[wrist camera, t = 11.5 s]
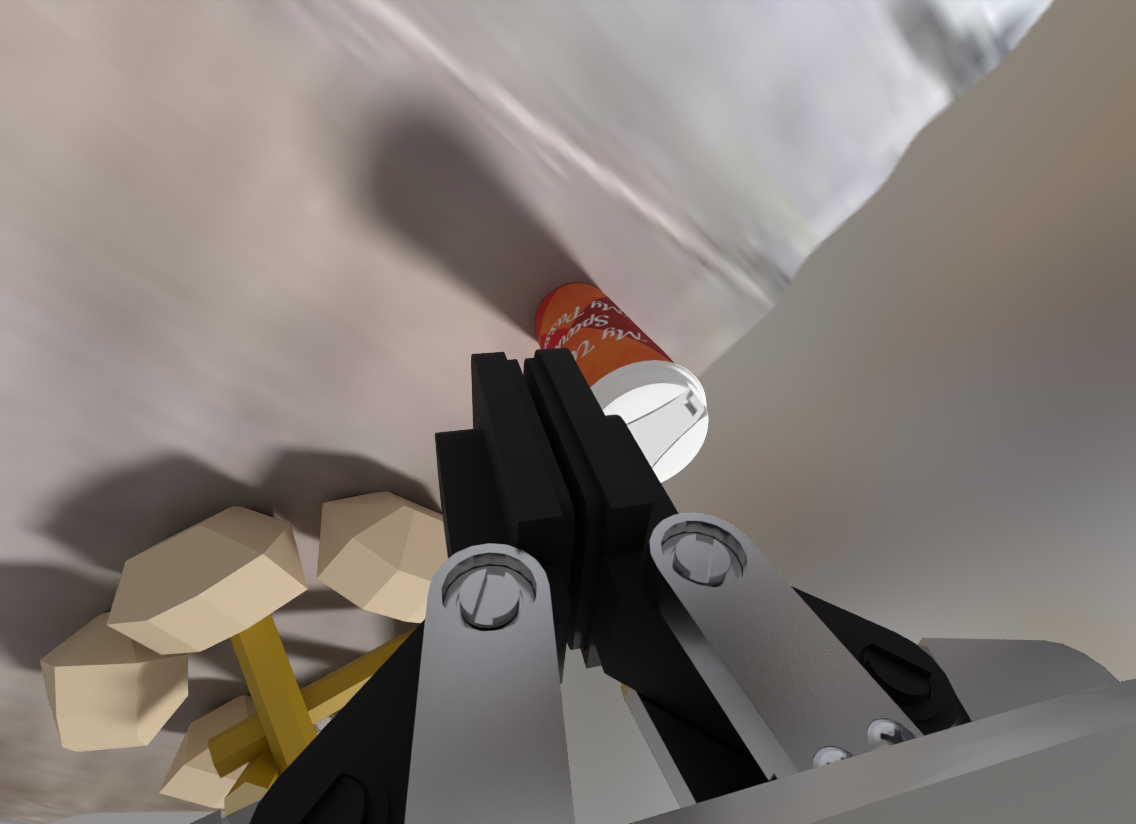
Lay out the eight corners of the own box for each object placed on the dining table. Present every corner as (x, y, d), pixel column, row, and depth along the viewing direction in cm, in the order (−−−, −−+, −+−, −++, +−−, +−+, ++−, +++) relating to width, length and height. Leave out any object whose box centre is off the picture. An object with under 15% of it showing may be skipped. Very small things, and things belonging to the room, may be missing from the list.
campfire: (-43, 612, 40) (-255, 914, 27) (383, 400, 40) (385, 601, 26) (285, 766, 62) (259, 976, 48) (564, 631, 61) (616, 806, 48)
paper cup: (586, 243, 37) (674, 343, 26) (644, 321, 41) (740, 436, 30) (494, 319, 38) (540, 446, 27) (560, 387, 43) (623, 519, 32)
